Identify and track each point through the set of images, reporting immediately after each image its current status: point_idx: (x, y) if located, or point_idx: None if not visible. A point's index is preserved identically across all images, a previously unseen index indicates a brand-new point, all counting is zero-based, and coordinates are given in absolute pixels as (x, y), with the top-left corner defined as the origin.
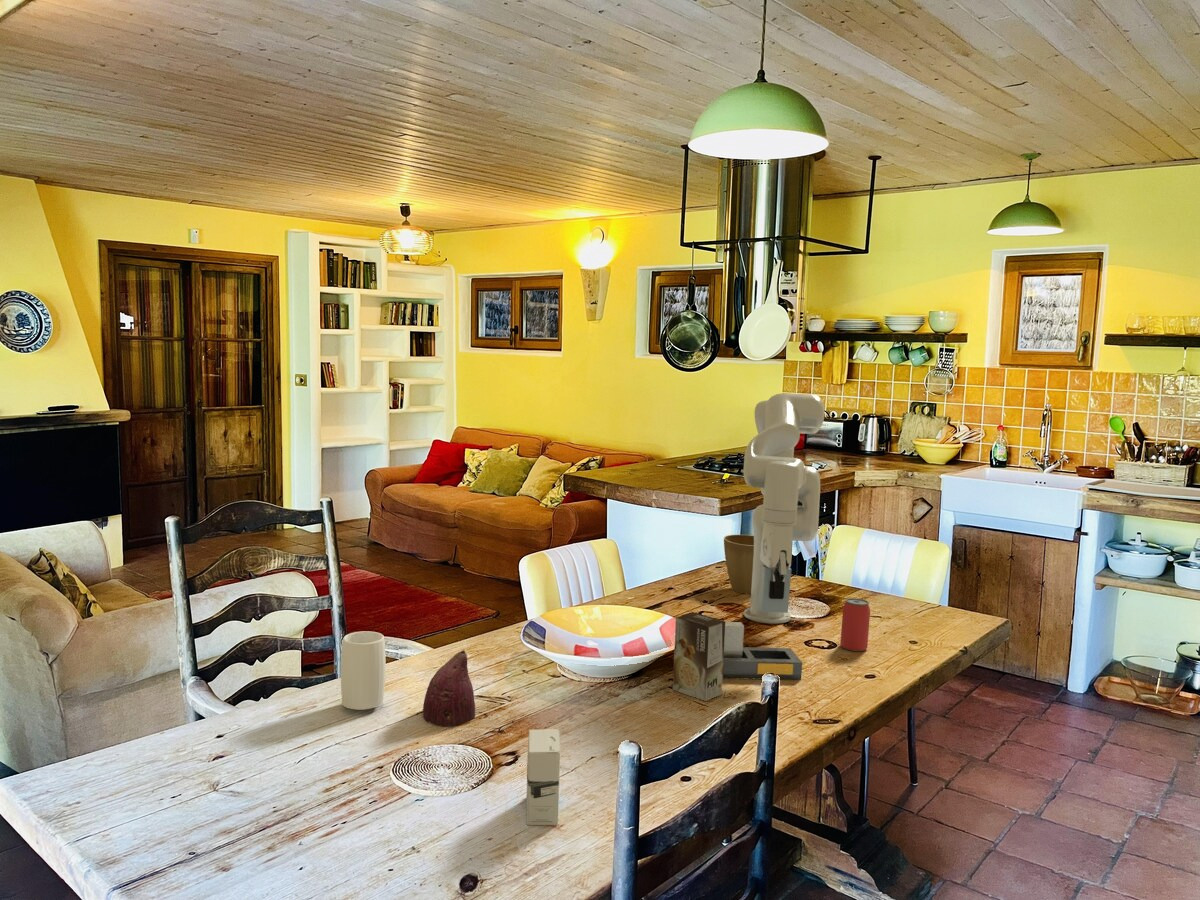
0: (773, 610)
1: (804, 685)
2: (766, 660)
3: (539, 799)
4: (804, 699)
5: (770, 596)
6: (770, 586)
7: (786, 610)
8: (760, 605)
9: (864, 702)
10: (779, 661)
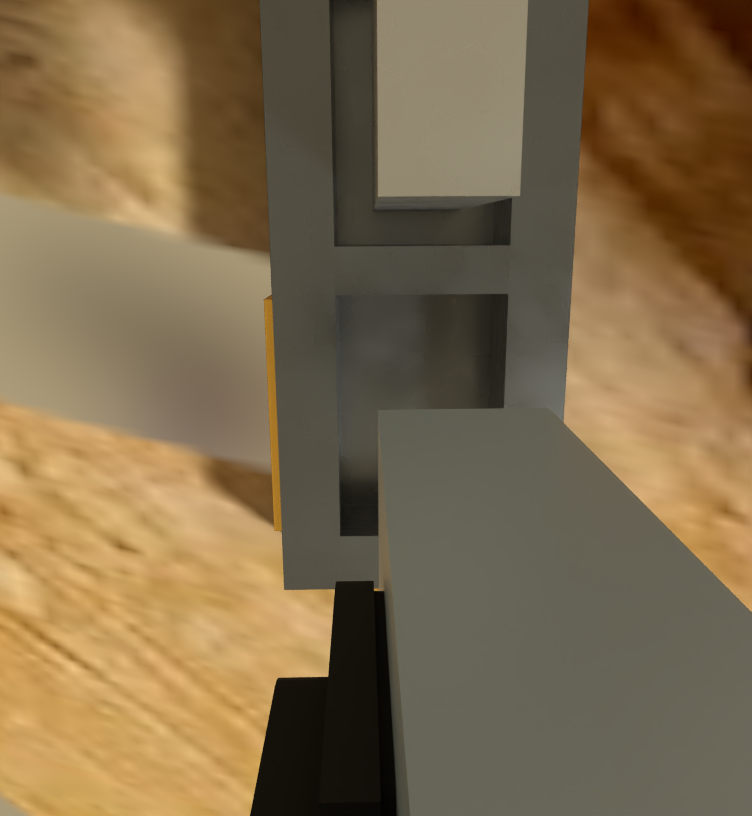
0: (379, 560)
1: (214, 537)
2: (302, 368)
3: None
4: (9, 485)
5: (334, 603)
6: (331, 711)
7: None
8: (464, 425)
9: (22, 755)
10: (290, 451)
